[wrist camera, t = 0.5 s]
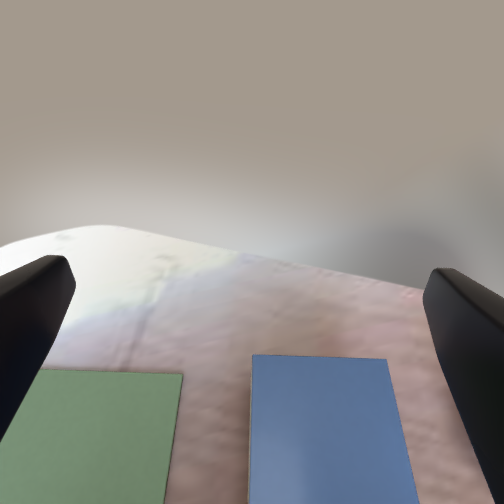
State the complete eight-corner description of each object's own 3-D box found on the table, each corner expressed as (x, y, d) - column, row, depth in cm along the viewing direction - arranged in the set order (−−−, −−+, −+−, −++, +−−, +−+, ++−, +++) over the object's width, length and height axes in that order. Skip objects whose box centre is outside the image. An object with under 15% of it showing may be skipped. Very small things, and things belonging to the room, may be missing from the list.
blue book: (417, 644, 14) (457, 671, 11) (244, 639, 14) (244, 666, 11) (368, 378, 20) (386, 358, 18) (250, 375, 20) (252, 354, 18)
